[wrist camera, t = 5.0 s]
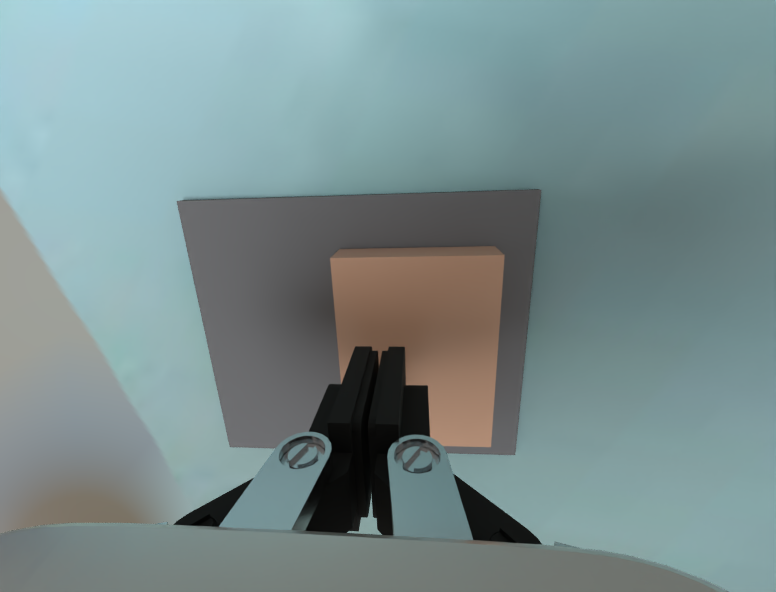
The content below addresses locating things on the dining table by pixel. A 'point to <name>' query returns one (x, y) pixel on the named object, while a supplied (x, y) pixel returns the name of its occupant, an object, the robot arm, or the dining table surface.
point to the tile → (428, 326)
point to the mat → (315, 294)
